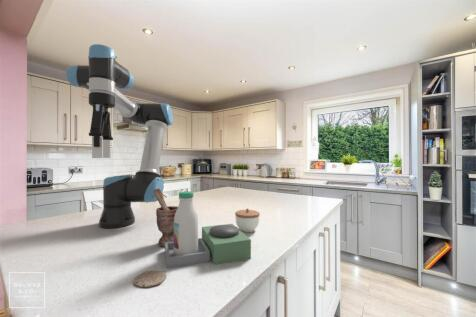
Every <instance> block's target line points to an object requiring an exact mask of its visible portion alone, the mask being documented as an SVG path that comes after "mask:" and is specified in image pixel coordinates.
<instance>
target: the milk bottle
mask: <svg viewBox="0 0 476 317" xmlns="http://www.w3.org/2000/svg"><path fill="white" fill-rule="evenodd" d="M178 199H179V203H178V206H177V207H178V208H177V211H176V213H175V217H174V255H175V256H179V255H186V254H193V253H197V252H198V239H199V216H198V212H197V209H196V208H195V205H194V201H193V200H194V192H193V191H188V190H187V191H180V192H179V193H178Z"/></svg>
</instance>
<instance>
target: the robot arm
mask: <svg viewBox="0 0 476 317" xmlns="http://www.w3.org/2000/svg"><path fill="white" fill-rule="evenodd" d="M116 57H117V56H116V52H115V50H114V49H113V48H112V47H110V46H107V45H104V44H99V43H98V44H95V43H94V44H91V45H90V46H89V47H88V65H79V64H78V65H70V66H68V67H67V68H66V71H65V77H66V80H67V81H68V84H70V85H71V86H73V87H76V88H77V87H78V88H84V89H86V90H88V92H89V93H88V104H89V106H92V114H91V120H90V121H91V122H90V127H89V129H90V130H89V132H88V137H91V159H111V151H112V150H111V146H112V145H111V144H112V142H111V141H114V137H113V136H112V127H111V112H110V111H108V109H113V108H114V109H115V110H117V111H118V112H119V114H120V116H122V117H124V119H126V120H128V121H130V122H133V123H135V124H138V125H142V126H146V128H147V129H146V135H145V141H144V145H143V150H142V156H141V157H142V158H141V160H140V162H141V163H140V167H139V170H137V171H135V176H134V177H132V175H131V174H122V175H115V176H108V177H105V178H104V179H103V187H102V190H103V193H102V196H103V198H102V199H103V201H102V202H103V206H102V207H103V209H102V212H101V215H100V218H99V220H98V227H99V228H101V229H117V228H123V227H129V226H131V225H133V224H134V223H135V222H136V217H135V214H134V211H133V208H132V203H147V204H148V203H155V202H158V200H157V199H156V197H155V195H154V190H155V189H160V190H161V192H162V194H163V193H164V187H165V185H164V182H165V181H164V179H163V178H162V176H161V174H160V172H159V170H160V162H161V157H162V150H163V143H164V139H165V132H166V131H168V129H169V126H172V125H173V124H174V115H173V110H172V108H171V106H170V104H169V103H163V102H160V103H158V102H157V103H153V102H152V103H150V102H148V103H143V102H135V101H134V100H132V99H129V98H128V97H127V96H125V95H124V94H123V93H122V92H121V91H119V90H118V89H122V90H124V91H125V90H129V89H131V88H132V87H133V86H134V83H135V77H134V75H133V74H132V72H130V71H129V70H128V69H127V68H126V67H124V66H123V65H122V64H120V63H119V62H117V60H116ZM117 88H118V89H117Z"/></svg>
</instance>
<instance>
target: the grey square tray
mask: <svg viewBox="0 0 476 317" xmlns="http://www.w3.org/2000/svg"><path fill="white" fill-rule="evenodd" d="M164 254H165V261H166V268H167V269H170V268H176V267H182V266H183V267H184V266H188V265H193V264H194V265H195V264H200V263H206V262H210V261H211V258H210V252H209V250H208V248H207V247H206V245H205V243H204V242H203V240H202V237H201V238H199V237H198V252H197V253H193V254H186V255H179V256H175V255H174V242H168V243H165V247H164Z"/></svg>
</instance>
